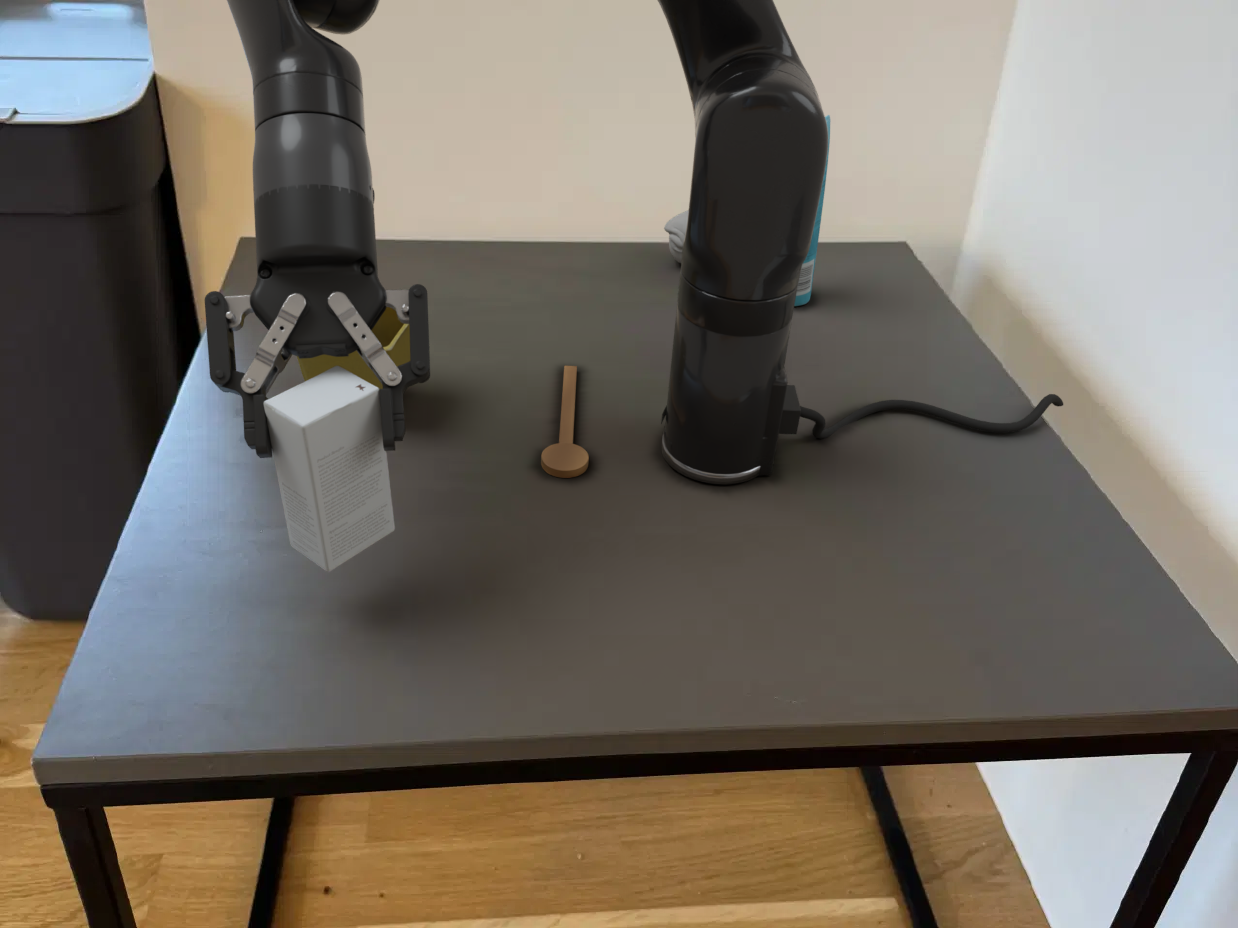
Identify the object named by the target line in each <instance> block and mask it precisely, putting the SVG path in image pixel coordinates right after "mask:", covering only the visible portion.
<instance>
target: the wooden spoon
mask: <svg viewBox="0 0 1238 928" xmlns="http://www.w3.org/2000/svg"><path fill="white" fill-rule="evenodd" d="M577 373H578V366H577V365H564V366H563V379H562V395H561V408H560V420H559V421H560V423H559V435H558V443H553V444H549V445H548V446H547V447H545V448H544V449H543V450H542V452H541V455H540V465H541V468H542V470H543V471H545V473H546V474H548V475H550V476H553V477H555V478H561V479H562V478H563V479H570V478H576V477H578V476H581V475H582V474H584V473H586V471H587V469H588V467H589V461H590V460H589V457H590V456H589V453H588V451H586V449H585V448H583V447H582V446H580V445H578V444H575V443H574V431H575V429H574V428H575V414H576V413H575V412H576V392H577V391H576V390H577Z"/></svg>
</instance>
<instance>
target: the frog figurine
mask: <svg viewBox="0 0 1238 928" xmlns="http://www.w3.org/2000/svg"><path fill="white" fill-rule="evenodd" d="M688 211H689V209H687V210H684V211H683V212H680V213H678V214H676V215H675V216H672V218H670V219H669V220H668V221H667V222H666V223H665V225H664V226H663V229H664V231H665V232H666V233H668V248H669V251H670V254H671V256H672V258H673V259H674V260H675V261H676V262H678V264H681V261H682V250H683V241H684V238H685V234H686V228H687V220H688Z"/></svg>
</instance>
